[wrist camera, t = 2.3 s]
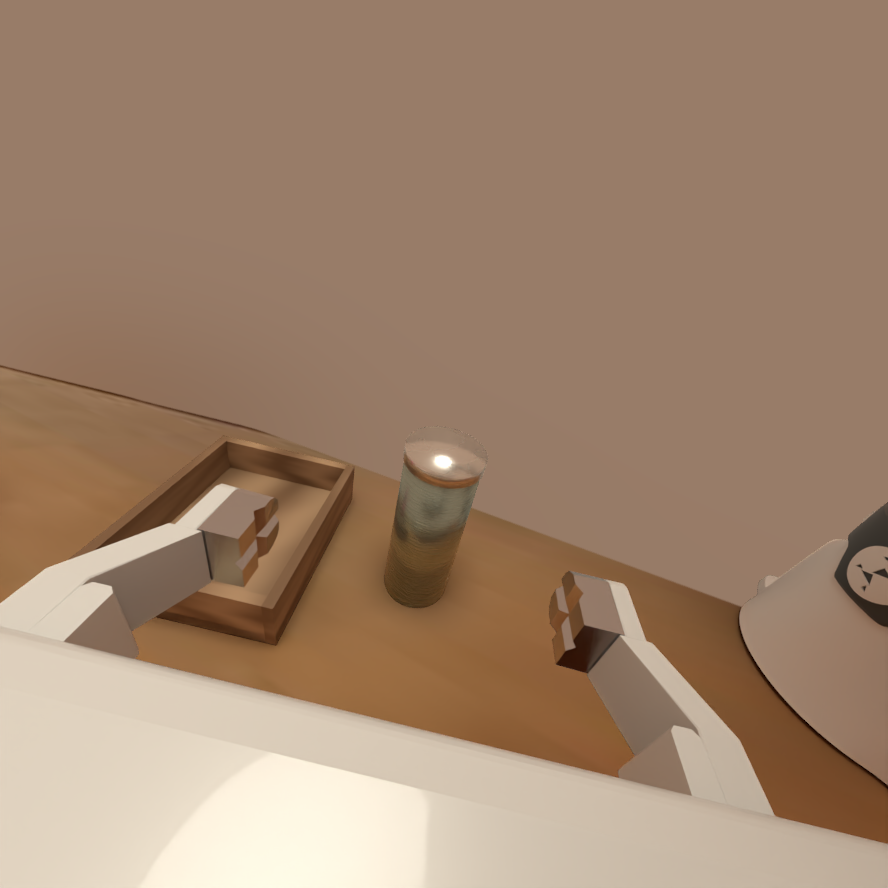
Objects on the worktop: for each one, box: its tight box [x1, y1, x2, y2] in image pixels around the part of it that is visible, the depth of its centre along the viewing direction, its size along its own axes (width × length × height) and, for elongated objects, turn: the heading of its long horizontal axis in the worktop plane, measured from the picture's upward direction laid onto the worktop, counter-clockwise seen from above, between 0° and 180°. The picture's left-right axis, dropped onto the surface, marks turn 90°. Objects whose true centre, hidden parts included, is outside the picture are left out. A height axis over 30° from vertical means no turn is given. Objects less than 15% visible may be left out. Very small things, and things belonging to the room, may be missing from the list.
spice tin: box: [384, 426, 488, 608], centre depth 27 cm, size 5×5×13 cm
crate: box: [68, 436, 354, 645], centre depth 29 cm, size 12×15×4 cm
